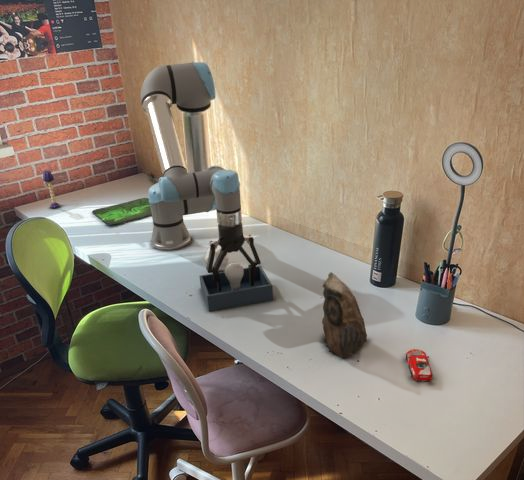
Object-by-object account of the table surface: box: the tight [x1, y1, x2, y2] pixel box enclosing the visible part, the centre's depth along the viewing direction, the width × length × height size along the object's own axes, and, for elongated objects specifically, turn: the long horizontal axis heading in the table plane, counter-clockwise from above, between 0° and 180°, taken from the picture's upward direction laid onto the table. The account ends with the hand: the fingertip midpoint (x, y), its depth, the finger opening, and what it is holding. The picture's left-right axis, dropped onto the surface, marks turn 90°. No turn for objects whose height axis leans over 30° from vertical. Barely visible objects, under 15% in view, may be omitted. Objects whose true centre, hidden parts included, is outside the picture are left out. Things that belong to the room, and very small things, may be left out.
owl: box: [321, 271, 368, 359], centre depth 156 cm, size 13×13×20 cm
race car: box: [405, 348, 434, 384], centre depth 149 cm, size 13×5×4 cm, turn 177°
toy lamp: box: [42, 169, 61, 210], centre depth 257 cm, size 5×5×17 cm
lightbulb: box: [225, 262, 244, 291], centre depth 184 cm, size 6×6×11 cm
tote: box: [198, 264, 274, 312], centre depth 186 cm, size 15×21×6 cm
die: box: [204, 246, 230, 272], centre depth 201 cm, size 8×9×10 cm
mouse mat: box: [91, 197, 152, 226], centre depth 252 cm, size 27×22×1 cm
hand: (235, 287), depth 186 cm, fingers open, 10 cm apart
